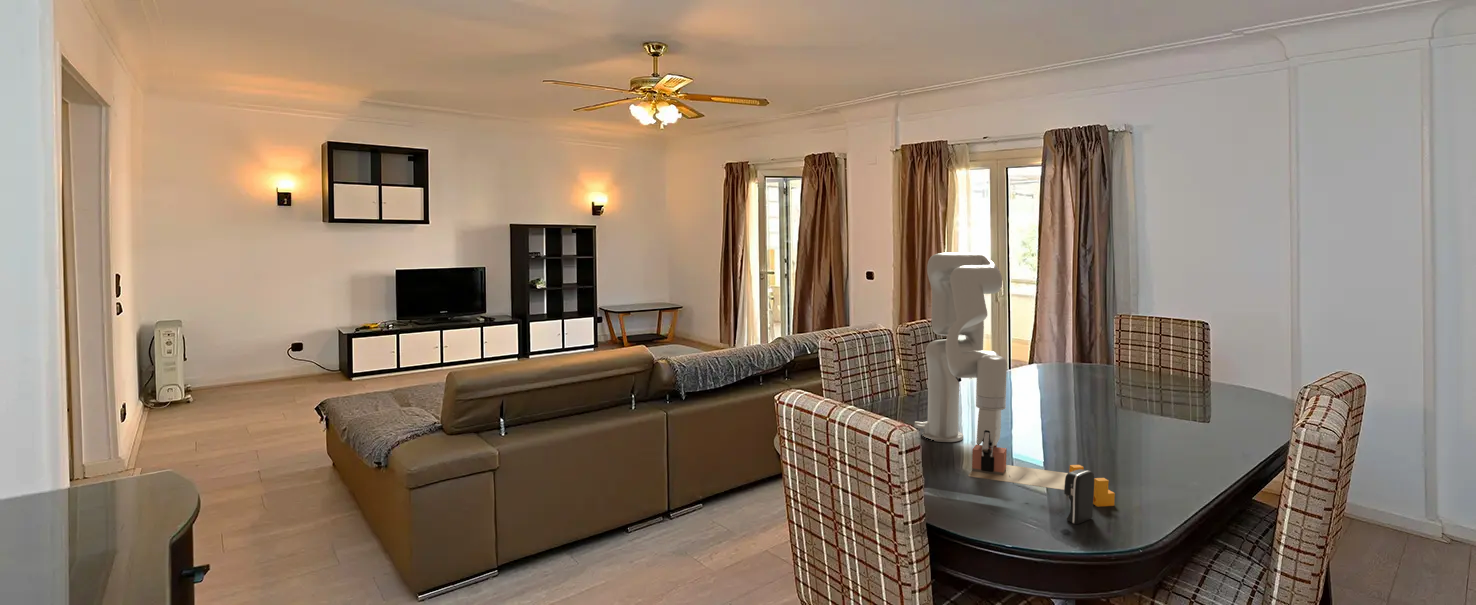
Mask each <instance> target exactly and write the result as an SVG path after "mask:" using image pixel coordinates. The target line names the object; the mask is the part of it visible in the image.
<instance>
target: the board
mask: <svg viewBox="0 0 1476 605" xmlns="http://www.w3.org/2000/svg"><path fill="white" fill-rule="evenodd" d="M1068 473H1069V472H1062V471H1054V470H1047V469H1039V468H1032V467H1031V468H1030V467H1023V466H1018V465H1009V464H1006V471H1005V473H1004V475H996V474H989V473H982V472H975V471H972V470H971V471H970V473H969V474H968V475H967V476H968V477H970V478H976V479H977V478H979V479H983V480H984V479H986V480H992V481H999V482H1006V483H1014V484H1020V485H1027V486H1028V485H1029V486H1034V487H1041V488H1042V487H1043V488H1048V489H1055V490H1062V491H1064V486H1065V477H1066V475H1067V474H1068ZM1065 496H1066V497H1068V495H1066V494H1065Z"/></svg>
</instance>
